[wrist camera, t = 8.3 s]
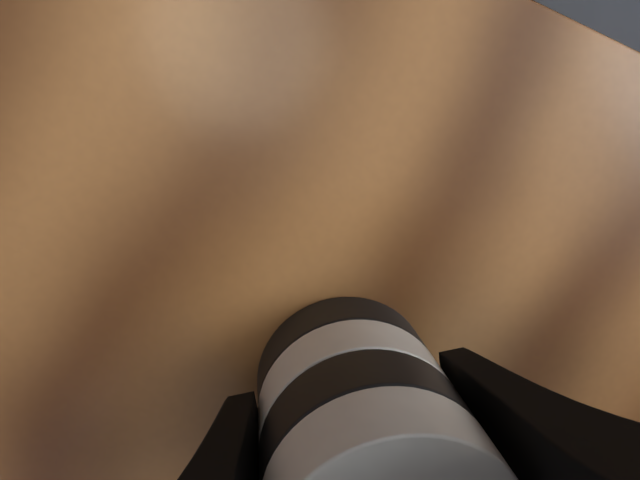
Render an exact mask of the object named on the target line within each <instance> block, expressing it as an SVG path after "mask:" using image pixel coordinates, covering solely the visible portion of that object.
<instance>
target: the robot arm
mask: <svg viewBox="0 0 640 480" xmlns="http://www.w3.org/2000/svg"><path fill="white" fill-rule="evenodd" d="M439 362H440V367H441V369H442V370H443V372H444V373H445V375H446V376H447V377H448V379H449V380H450V382H451V383H452V385H453V386H454V388H455V389H456V390H457V392H458V393H459V395H460V396H461V398H462V399H463V400H464V402H465V403H466V405H467V406H468V408H469V409H470V411H471V412H472V413H473V415H474V416H475V418H476V419H477V421H478V422H479V424H480V425H481V427H482V428H483V429H484V431H485V432H486V434H487V435H488V437H489V438H490V439H491V441H492V442H493V444H494V445H495V447H496V448H497V449H498V451H499V452H500V454H501V455H502V457H503V458H504V460H505V461H506V462H507V464H508V465H509V467H510V468H511V470H512V471H513V473H514V474H515V475H516V477H517V478H518V480H640V422H637V421H634V420H630V419H627V418H624V417H620V416H617V415H614V414H612V413H609V412H606V411H603V410H600V409H597V408H594V407H591V406H588V405H586V404H583V403H580V402H578V401H575V400H573V399H570V398H568V397H566V396H563V395H561V394H559V393H556V392H554V391H552V390H549V389H547V388H545V387H543V386H540V385H538V384H536V383H534V382H532V381H530V380H528V379H526V378H524V377H522V376H520V375H518V374H516V373H514V372H512V371H510V370H508V369H506V368H504V367H502V366H500V365H498V364H496V363H494V362H492V361H490V360H488V359H486V358H485V357H483V356H481V355H479V354H477V353H475V352H473V351H471V350H469V349H466V348H464V347H461V348H457V349H452V350H447V351H442V352H439ZM177 480H259V436H258V407H257V403H256V399H255V394H254V391H252V392H247V393H242V394H237V395H233V396H228V397H227V398H226V400H225V401H224V403H223V405H222V406H221V408H220V410H219V412H218V414H217V416H216V418H215V420H214V421H213V423H212V425H211V427H210V429H209V430H208V432H207V434H206V436H205V437H204V439H203V441H202V442H201V444H200V445H199V447H198V449H197V450H196V452H195V454H194V455H193V457H192V459H191V460H190V462H189V463H188V465H187V466H186V467H185V469H184V470H183V472H182V473H181V475H180V476H179V478H178V479H177Z"/></svg>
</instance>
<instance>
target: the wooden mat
mask: <svg viewBox="0 0 640 480" xmlns="http://www.w3.org/2000/svg"><path fill="white" fill-rule="evenodd" d="M337 297H360V298H366V299H370V300H374V301H377V302H380V303H382V304H385V305H387V306H388V307H390V308H392V309H394V310H395V311H397V312H398V313H399V314H401V315H402V316H403V317H404V318H405V319H406V320H407V321H408V322H409V323H410V324H411V326H412V327H413V329H414V330H415V331H416V333H417V334H418V336H419V337H420V339H421V340H422V341H423V343H424V344H425V346H426V347H427V349H428V350H429V351H430V353H431V354H432V356H433V357H434V359H435V360H436V362H437V363H438V364H439V366H440V362H439V352H442V351H447V350H452V349H457V348H461V347H464V348H466V349H469V350H471V351H473V352H475V353H477V354H479V355H481V356H483V357H485V358H486V359H488V360H490V361H492V362H494V363H496V364H498V365H500V366H502V367H504V368H506V369H508V370H510V371H512V372H514V373H516V374H518V375H520V376H522V377H524V378H526V379H528V380H530V381H532V382H534V383H536V384H538V385H540V386H543V387H545V388H547V389H549V390H552V391H554V392H556V393H559V394H561V395H563V396H566V397H568V398H570V399H573V400H575V401H578V402H580V403H583V404H586V405H588V406H591V407H594V408H597V409H600V410H603V411H606V412H609V413H612V414H614V415H617V416H620V417H624V418H627V419H630V420H634V421H637V422H640V52H638V51H636V50H634V49H632V48H630V47H628V46H626V45H623V44H621V43H619V42H617V41H615V40H613V39H611V38H609V37H607V36H605V35H603V34H601V33H599V32H597V31H595V30H593V29H591V28H589V27H587V26H585V25H582V24H580V23H578V22H576V21H574V20H572V19H570V18H568V17H566V16H564V15H562V14H560V13H558V12H556V11H554V10H552V9H550V8H548V7H546V6H544V5H542V4H539V3H537V2H535V1H533V0H0V480H177V479H178V478H179V476H180V475H181V473H182V472H183V470H184V469H185V467H186V466H187V465H188V463H189V462H190V460H191V459H192V457H193V455H194V454H195V452H196V450H197V449H198V447H199V445H200V444H201V442H202V441H203V439H204V437H205V436H206V434H207V432H208V430H209V429H210V427H211V425H212V423H213V421H214V420H215V418H216V416H217V414H218V412H219V410H220V408H221V406H222V405H223V403H224V401H225V400H226V398H227V397H228V396H233V395H237V394H242V393H247V392H252V391H254V394H255V399H256V403H257V407H258V392H257V373H258V367H259V362H260V359H261V355H262V353H263V350H264V348H265V346H266V344H267V342H268V341H269V339H270V338H271V336H272V335H273V333H274V332H275V331H276V330H277V329H278V327H279V326H280V325H281V324H282V323H283V322H285V321H286V320H287V319H288V318H289V317H290V316H292V315H293V314H295V313H296V312H297V311H299V310H301V309H303V308H305V307H307V306H308V305H311V304H314V303H316V302H319V301H322V300H326V299H330V298H337Z"/></svg>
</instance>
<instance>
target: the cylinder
mask: <svg viewBox="0 0 640 480" xmlns="http://www.w3.org/2000/svg"><path fill="white" fill-rule="evenodd" d="M257 392H258V436H259V480H518V478H517V477H516V475H515V474H514V473H513V471H512V470H511V468H510V467H509V465H508V464H507V462H506V461H505V460H504V458H503V457H502V455H501V454H500V452H499V451H498V449H497V448H496V447H495V445H494V444H493V442H492V441H491V439H490V438H489V437H488V435H487V434H486V432H485V431H484V429H483V428H482V427H481V425H480V424H479V422H478V421H477V419H476V418H475V416H474V415H473V413H472V412H471V411H470V409H469V408H468V406H467V405H466V403H465V402H464V400H463V399H462V398H461V396H460V395H459V393H458V392H457V390H456V389H455V388H454V386H453V385H452V383H451V382H450V380H449V379H448V377H447V376H446V375H445V373H444V372H443V370H442V369H441V367H440V366H439V364H438V363H437V362H436V360H435V359H434V357H433V356H432V354H431V353H430V351H429V350H428V349H427V347H426V346H425V344H424V343H423V341H422V340H421V339H420V337H419V336H418V334H417V333H416V331H415V330H414V329H413V327H412V326H411V324H410V323H409V322H408V321H407V320H406V319H405V318H404V317H403V316H402V315H401V314H399V313H398V312H397V311H395V310H394V309H392V308H390V307H388V306H387V305H385V304H382V303H380V302H377V301H374V300H370V299H366V298H360V297H337V298H330V299H326V300H322V301H319V302H316V303H314V304H311V305H308V306H307V307H305V308H303V309H301V310H299V311H297V312H296V313H295V314H293V315H292V316H290V317H289V318H288V319H287V320H286V321H285V322H283V323H282V324H281V325H280V326H279V327H278V329H277V330H276V331H275V332H274V333H273V335H272V336H271V338H270V339H269V341H268V342H267V344H266V346H265V348H264V350H263V353H262V355H261V359H260V362H259V367H258V373H257Z"/></svg>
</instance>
